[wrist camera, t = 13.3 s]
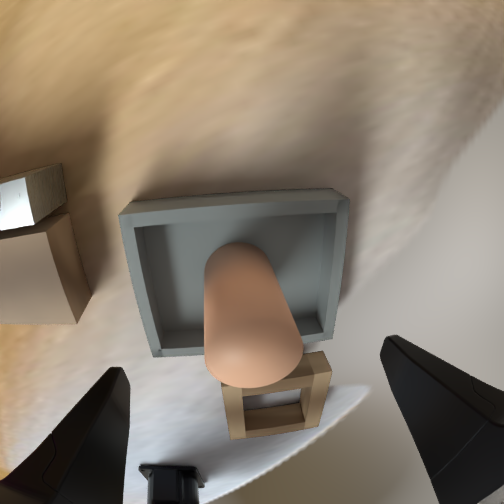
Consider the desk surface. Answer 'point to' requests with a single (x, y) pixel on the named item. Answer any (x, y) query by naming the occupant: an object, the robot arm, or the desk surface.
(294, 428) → the collar
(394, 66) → the desk surface
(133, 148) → the desk surface
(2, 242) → the tan rectangular block
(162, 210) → the tray
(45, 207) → the bar
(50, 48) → the desk surface
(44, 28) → the desk surface
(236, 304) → the dowel
